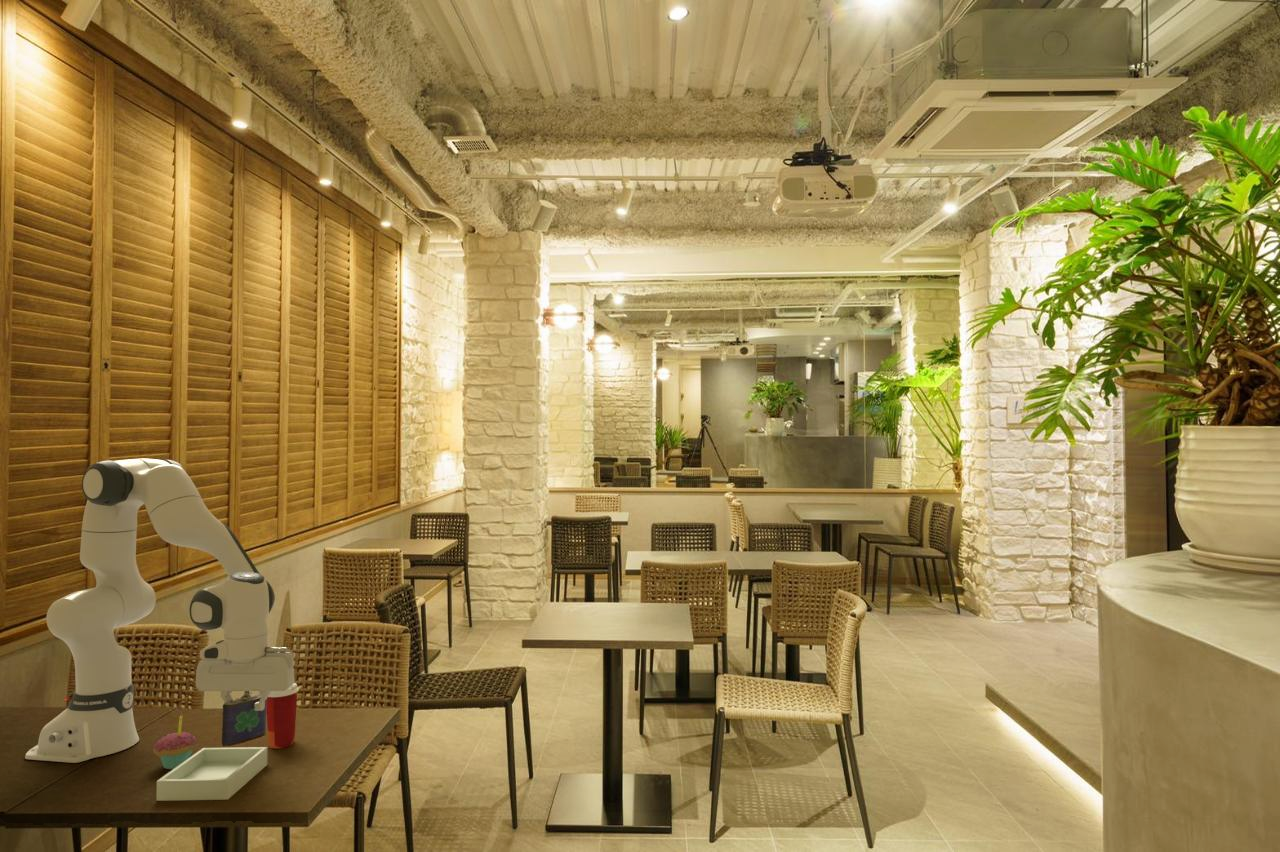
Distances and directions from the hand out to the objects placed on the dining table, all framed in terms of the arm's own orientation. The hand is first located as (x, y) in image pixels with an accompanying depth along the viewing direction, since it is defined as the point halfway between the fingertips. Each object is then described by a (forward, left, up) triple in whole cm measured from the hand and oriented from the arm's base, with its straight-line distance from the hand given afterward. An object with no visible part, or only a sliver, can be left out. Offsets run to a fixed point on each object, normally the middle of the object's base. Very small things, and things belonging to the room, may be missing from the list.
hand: (245, 710), depth 165 cm
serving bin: (-5, -3, -14) cm, 16 cm away
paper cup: (0, +17, -15) cm, 23 cm away
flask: (0, 0, -7) cm, 7 cm away
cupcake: (-19, +6, -15) cm, 25 cm away
